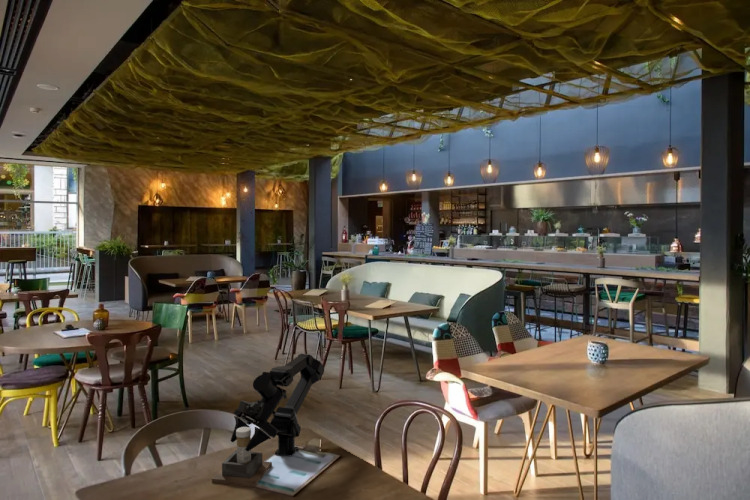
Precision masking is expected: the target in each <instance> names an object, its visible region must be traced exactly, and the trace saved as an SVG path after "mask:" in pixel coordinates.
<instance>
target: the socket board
mask: <svg viewBox="0 0 750 500" xmlns="http://www.w3.org/2000/svg"><path fill="white" fill-rule="evenodd" d="M272 465H273V462H272V461H265V460H264V461H263V452H257V451H251V461H250V463H249V464H244V463H237V449H236V450H234V451H233V452H232V453H231V454H230V455H229V456H228V457H227V458H226V459H225V460H224V461H222V463H221V469H220V470H219V471H218V472H217V473H216V474H215V475H214V476H213V477H212V478H211V483H213V484H214V483H215V484H224V485H232V486H233V485H234V486H242V487H243V486H244V487H254V488H255V487H256V485H257V484H258V483H259V480H260V481H261V479H262V478H264V476H265V475H264V474H266V473H267V472H268V471H269V470H270V469H271V468H272ZM269 468H270V469H269ZM268 469H269V470H268Z"/></svg>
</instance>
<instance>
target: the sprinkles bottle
mask: <svg viewBox="0 0 750 500" xmlns="http://www.w3.org/2000/svg"><path fill="white" fill-rule="evenodd" d="M251 436H252V429H251V427H250V426H249V427H240V428H238V429H237V430H236V437H237V440H236V450H237V463H244V464H249V463H250V461H251V452H252V449H251V450H249V451H246V450H245V449H246V447H247V445H248V443H249V442H250V440H251Z"/></svg>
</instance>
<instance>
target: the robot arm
mask: <svg viewBox="0 0 750 500" xmlns="http://www.w3.org/2000/svg"><path fill="white" fill-rule="evenodd" d="M299 373H300V378H299V381H298V382H297V384H296V385H295V388H293V391H292V393H291V395H290V396H289V398H288V401H287V402H286V403H285V406H278V405H279V404H280V402H282V400H283V399H284V400H286V399H287V390H286V389H284V388H281V387H289V386H290V385H291V383H292V382H294V377H295V376H296V375H298V374H299ZM324 373H325V366H324V365H323V363H322V362H321V361H320V360H318V359H316V358H314V356H313V355H311V354H306V353H300V354H298V355H297V357H295V358H293V359H292V360H291V361H289V362H288V363H286V364H285V365H281V366H276V367H272V368H271V369H270V371H263V372H262V374H260V375H258V376H257V377H256V378H255V379H254V380H253V383H252V387H253V389H254V390H255V392H256V393H257V394H259V396H261V398H260V400H259V399H257V400H255V401H252V402H251V401H246V400H243V399H241V400H240V402H239V403H238V407H237V408H236V409H235V410H234V412H233V413H232V414H233V415H234V416H233V418H234V420H235V421H234V422H235V426H234V429H233V431H232V434H231V436H230V437H231V438H230V442H231V443H234V442H235V441H237V437H236V430H237V429H238V428H240V427H249V428H250V426H249V425H254V433H253V435H252V437H250V442H249V443H248V445H247V447H246V449H245V450H246V451H249V450H251V451H252V450H253V449H254V448H255V447H257V446H259V445H260V444H262V443H264V442H266V441H267V440H271V439H272V438H273V439H275V438H276V436H277V449H276V451H274V455H278V456H288V455H291V456H294V454H295V453H296V452H297V450H298V449H299V446H295V445H296V443H295V441H296V440H295V439H296V438H297V437H299V436H300V434H301V430H302V427H301V425H300V424H299V423H298V412H299V411H300V408H301V407H302V405H303V403H304V401H305V400H306V399H305V398H307V395H308V393H309V391H310V390H311V387H312V386H313V385H314V384H316V383H317V382H319V381H320V379H321V378H322V377H323V375H324ZM271 416H272V418H271V420H270V421H268V420H269V419H270V417H271ZM295 451H296V452H295ZM291 456H290V457H291Z"/></svg>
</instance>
